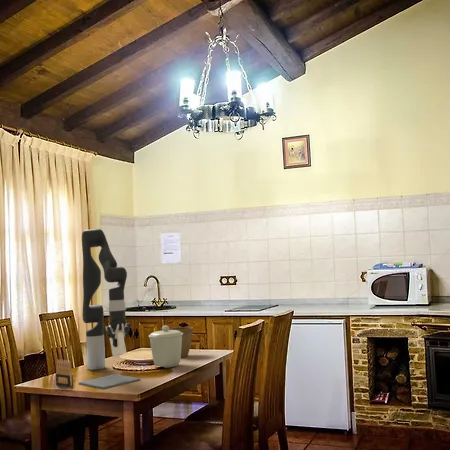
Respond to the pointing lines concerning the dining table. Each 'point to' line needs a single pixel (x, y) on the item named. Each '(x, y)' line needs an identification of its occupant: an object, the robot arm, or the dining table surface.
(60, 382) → the ammunition clip
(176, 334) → the canister
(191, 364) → the dining table surface
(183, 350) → the plant pot
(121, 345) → the cream block
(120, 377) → the rubber mat
